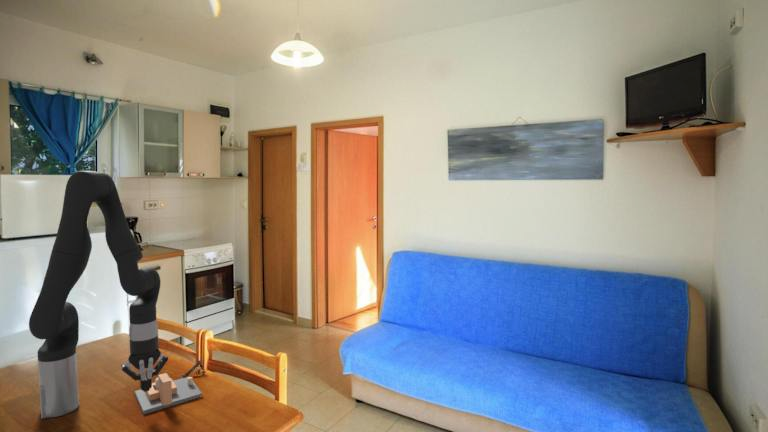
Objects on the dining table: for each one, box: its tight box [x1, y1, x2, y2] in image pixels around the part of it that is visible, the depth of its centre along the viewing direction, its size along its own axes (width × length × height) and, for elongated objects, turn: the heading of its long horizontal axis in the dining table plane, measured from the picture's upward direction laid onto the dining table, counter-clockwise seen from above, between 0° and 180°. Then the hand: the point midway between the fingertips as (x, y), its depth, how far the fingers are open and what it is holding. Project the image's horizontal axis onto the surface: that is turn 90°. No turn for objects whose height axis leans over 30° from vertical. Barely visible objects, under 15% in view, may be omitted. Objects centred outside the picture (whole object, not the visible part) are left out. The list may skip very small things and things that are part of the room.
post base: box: [134, 375, 203, 415], centre depth 139 cm, size 17×15×6 cm
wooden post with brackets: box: [181, 359, 205, 378], centre depth 154 cm, size 2×8×4 cm, turn 147°
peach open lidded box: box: [146, 372, 177, 406], centre depth 136 cm, size 14×8×8 cm, turn 39°
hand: (146, 390), depth 128 cm, fingers closed
